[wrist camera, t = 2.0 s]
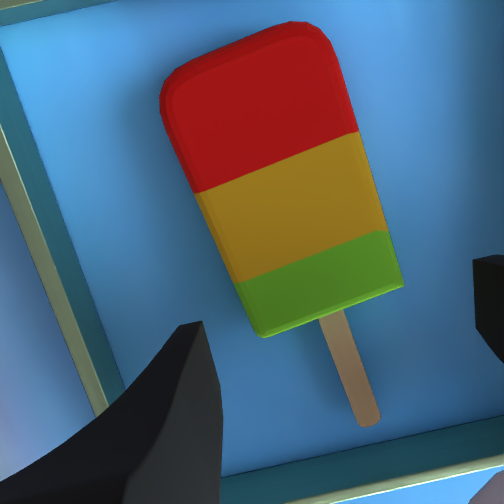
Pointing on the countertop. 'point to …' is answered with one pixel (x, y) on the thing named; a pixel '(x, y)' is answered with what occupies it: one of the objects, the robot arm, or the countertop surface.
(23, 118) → the baking frame
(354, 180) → the popsicle
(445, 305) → the countertop surface
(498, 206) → the countertop surface
